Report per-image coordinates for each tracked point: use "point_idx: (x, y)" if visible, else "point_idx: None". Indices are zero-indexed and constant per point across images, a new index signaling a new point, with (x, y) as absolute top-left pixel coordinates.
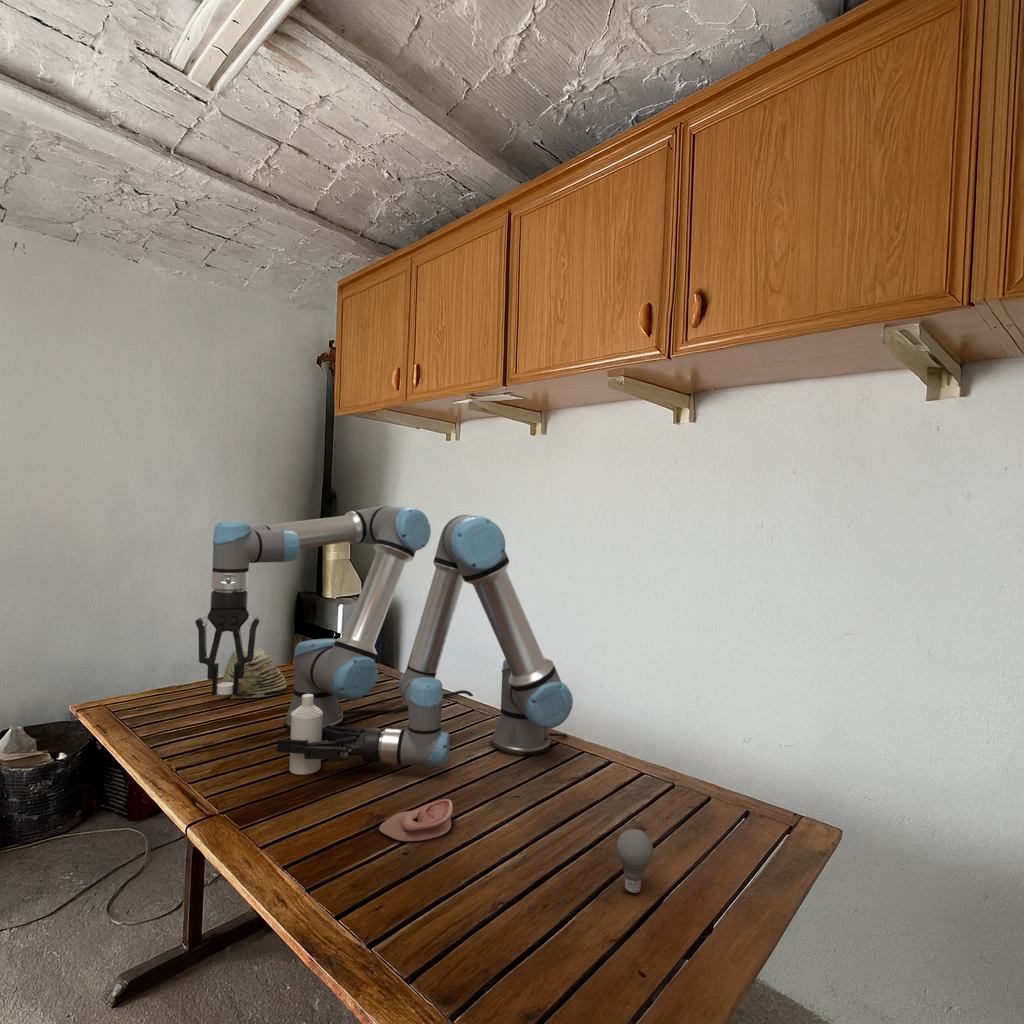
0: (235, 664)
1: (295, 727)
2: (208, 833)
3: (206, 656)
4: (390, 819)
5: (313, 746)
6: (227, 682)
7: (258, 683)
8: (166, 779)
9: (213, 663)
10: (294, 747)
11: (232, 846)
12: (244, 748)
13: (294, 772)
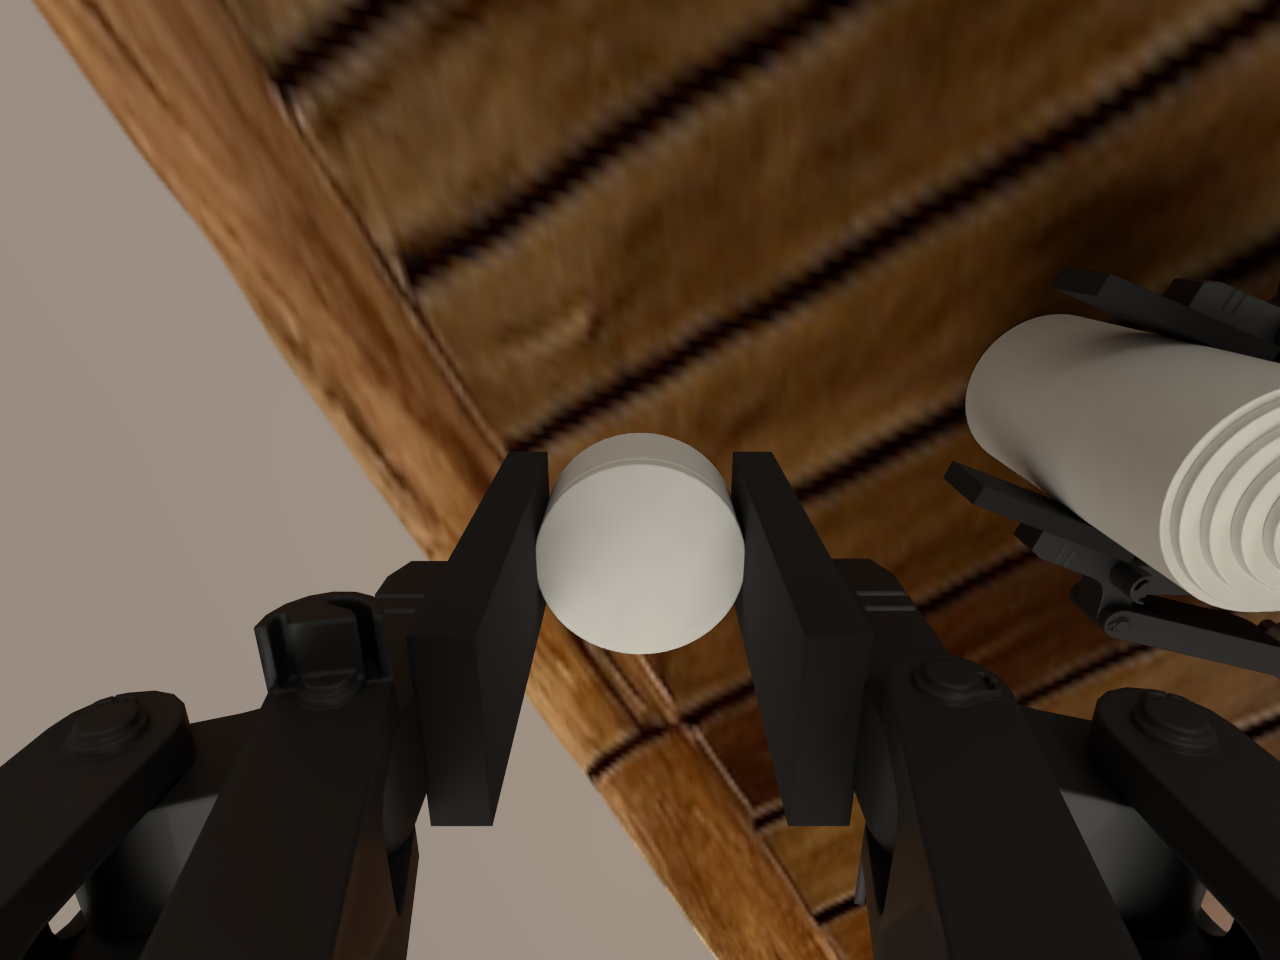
0: (803, 746)
1: (1126, 546)
2: (660, 828)
3: (150, 775)
4: (1230, 918)
5: (1155, 622)
6: (654, 493)
7: None
8: (397, 389)
9: (416, 864)
10: (1049, 560)
11: (738, 899)
12: (734, 4)
13: (985, 450)
